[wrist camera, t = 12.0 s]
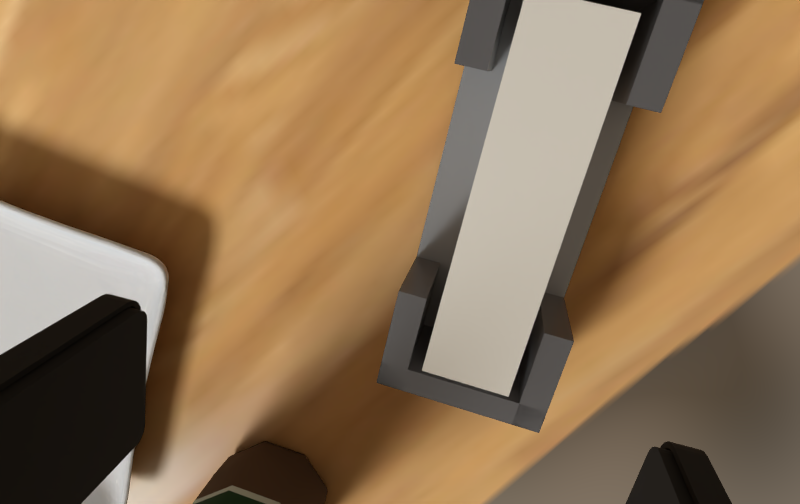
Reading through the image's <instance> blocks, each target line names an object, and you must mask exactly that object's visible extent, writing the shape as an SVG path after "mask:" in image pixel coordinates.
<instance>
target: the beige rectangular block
mask: <svg viewBox="0 0 800 504" xmlns="http://www.w3.org/2000/svg"><path fill="white" fill-rule="evenodd" d="M640 16H641V13H638V12H633V11H629V10H624V9H620V8H615V7H610V6H606V5H601V4H597V3H592V2H588V1H583V0H523V4H522V7H521V11H520V15H519V18H518V22H517V26H516V29H515V33H514V37H513V40H512V44H511V47H510V51H509V55H508V58H507V62H506V66H505V69H504V73H503V77H502V80H501V84H500V88H499V91H498V95H497V98H496V102H495V106H494V109H493V113H492V117H491V120H490V124H489V128H488V131H487V135H486V139H485V142H484V146H483V149H482V153H481V157H480V160H479V164H478V168H477V171H476V175H475V179H474V182H473V186H472V190H471V193H470V197H469V200H468V204H467V208H466V211H465V215H464V219H463V222H462V226H461V230H460V233H459V237H458V241H457V244H456V248H455V251H454V255H453V259H452V262H451V266H450V270H449V273H448V277H447V281H446V284H445V288H444V291H443V295H442V299H441V302H440V306H439V310H438V313H437V317H436V321H435V324H434V328H433V332H432V335H431V339H430V342H429V346H428V350H427V353H426V357H425V361H424V364H423V368H422V371H425V372H428V373H431V374H435V375H438V376H441V377H445V378H448V379H451V380H455V381H458V382H461V383H464V384H468V385H471V386H474V387H478V388H481V389H484V390H488V391H491V392H494V393H497V394H501V395H504V396H507V397H509V394H510V391H511V388H512V385H513V382H514V380H515V377H516V374H517V371H518V368H519V365H520V362H521V359H522V356H523V354H524V351H525V348H526V345H527V342H528V339H529V336H530V333H531V330H532V328H533V325H534V322H535V319H536V316H537V313H538V310H539V307H540V304H541V302H542V299H543V296H544V293H545V290H546V287H547V284H548V281H549V278H550V276H551V273H552V270H553V267H554V264H555V261H556V258H557V255H558V252H559V250H560V247H561V244H562V241H563V238H564V235H565V232H566V229H567V226H568V224H569V221H570V218H571V215H572V212H573V209H574V206H575V203H576V200H577V198H578V195H579V192H580V189H581V186H582V183H583V180H584V177H585V174H586V172H587V169H588V166H589V163H590V160H591V157H592V154H593V151H594V149H595V146H596V143H597V140H598V137H599V134H600V131H601V128H602V125H603V123H604V120H605V117H606V114H607V111H608V108H609V105H610V102H611V99H612V97H613V94H614V91H615V88H616V85H617V82H618V79H619V76H620V73H621V71H622V68H623V65H624V62H625V59H626V56H627V53H628V50H629V47H630V45H631V42H632V39H633V36H634V33H635V30H636V27H637V24H638V21H639V19H640Z"/></svg>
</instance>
